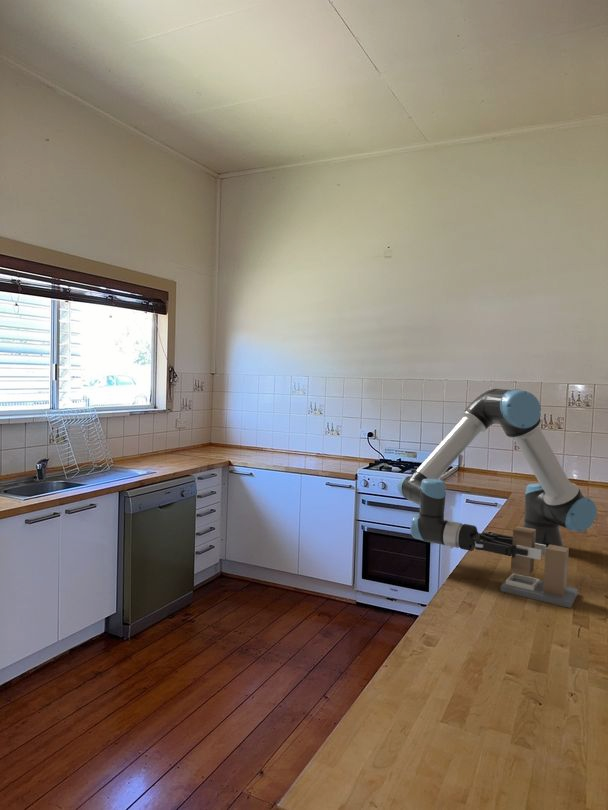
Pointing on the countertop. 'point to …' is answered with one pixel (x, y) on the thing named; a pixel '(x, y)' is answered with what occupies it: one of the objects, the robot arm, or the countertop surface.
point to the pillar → (526, 539)
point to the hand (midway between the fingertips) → (543, 552)
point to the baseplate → (542, 594)
